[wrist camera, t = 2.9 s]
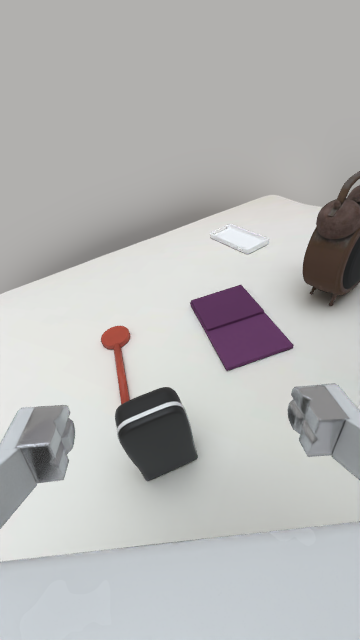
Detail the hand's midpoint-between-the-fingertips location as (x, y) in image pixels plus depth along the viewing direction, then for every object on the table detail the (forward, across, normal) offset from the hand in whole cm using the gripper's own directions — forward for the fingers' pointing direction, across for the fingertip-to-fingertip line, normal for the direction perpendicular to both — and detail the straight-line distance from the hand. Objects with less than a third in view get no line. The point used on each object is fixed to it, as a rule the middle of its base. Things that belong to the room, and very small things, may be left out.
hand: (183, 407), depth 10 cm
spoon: (+31, +8, +22) cm, 39 cm away
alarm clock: (+37, -32, +14) cm, 51 cm away
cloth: (+34, -12, +18) cm, 40 cm away
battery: (+14, +1, +24) cm, 27 cm away
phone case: (+65, -20, +11) cm, 69 cm away
